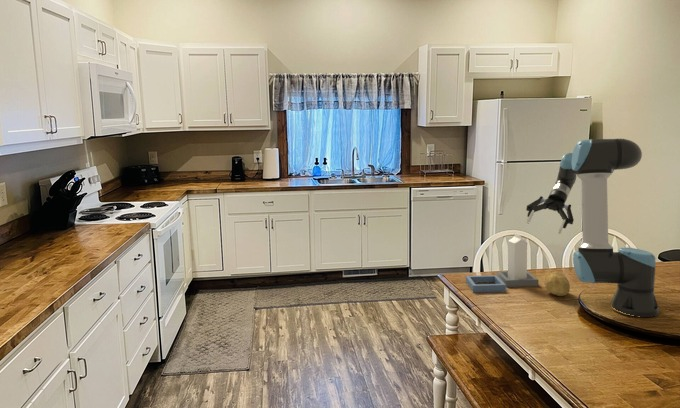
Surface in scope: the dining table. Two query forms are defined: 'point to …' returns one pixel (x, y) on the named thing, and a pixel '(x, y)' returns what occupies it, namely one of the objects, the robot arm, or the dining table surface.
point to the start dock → (517, 280)
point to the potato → (557, 284)
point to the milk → (517, 258)
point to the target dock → (496, 287)
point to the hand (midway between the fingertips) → (543, 226)
